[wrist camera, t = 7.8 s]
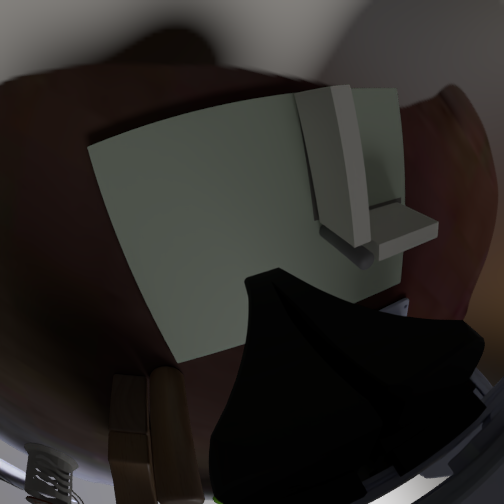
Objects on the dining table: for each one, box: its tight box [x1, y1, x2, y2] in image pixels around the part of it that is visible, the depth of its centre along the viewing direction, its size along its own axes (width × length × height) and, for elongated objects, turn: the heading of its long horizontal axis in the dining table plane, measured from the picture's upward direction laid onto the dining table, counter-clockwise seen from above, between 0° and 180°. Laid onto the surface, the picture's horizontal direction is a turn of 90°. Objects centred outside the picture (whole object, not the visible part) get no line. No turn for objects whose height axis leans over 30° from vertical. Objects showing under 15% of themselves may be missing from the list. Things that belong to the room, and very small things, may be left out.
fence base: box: [319, 202, 439, 270], centre depth 19 cm, size 1×8×5 cm, turn 102°
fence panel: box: [294, 84, 371, 248], centre depth 16 cm, size 9×1×4 cm, turn 15°
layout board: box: [87, 88, 405, 363], centre depth 20 cm, size 18×22×1 cm
